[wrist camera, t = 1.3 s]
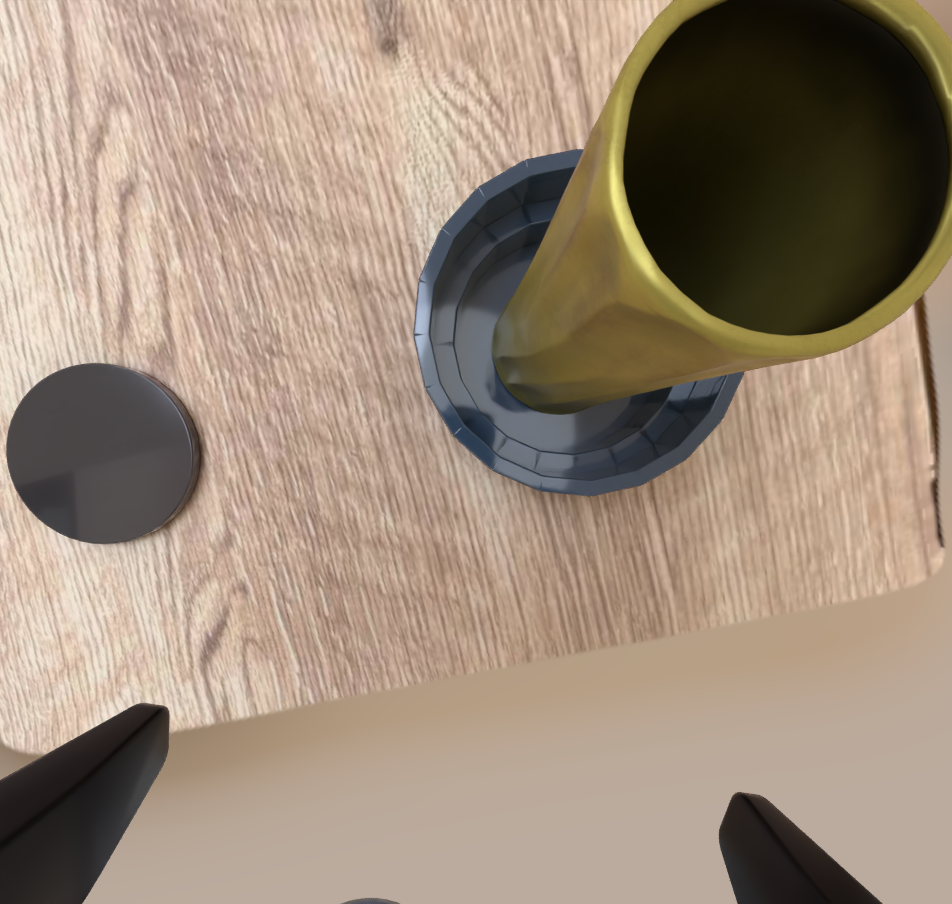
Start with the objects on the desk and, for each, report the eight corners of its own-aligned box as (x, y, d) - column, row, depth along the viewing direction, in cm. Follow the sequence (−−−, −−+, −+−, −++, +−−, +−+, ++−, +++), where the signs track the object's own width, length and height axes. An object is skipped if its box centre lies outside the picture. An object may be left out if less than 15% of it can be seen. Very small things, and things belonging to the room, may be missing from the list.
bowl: (733, 396, 21) (807, 389, 16) (508, 527, 21) (522, 555, 16) (608, 161, 20) (651, 85, 15) (375, 297, 20) (350, 260, 15)
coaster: (234, 485, 20) (227, 487, 20) (84, 573, 20) (72, 577, 20) (137, 331, 20) (127, 328, 19) (-18, 421, 20) (-32, 421, 19)
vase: (502, 268, 20) (608, -131, 6) (635, 289, 20) (1064, -42, 6) (483, 404, 20) (536, 356, 6) (614, 423, 20) (969, 420, 6)
